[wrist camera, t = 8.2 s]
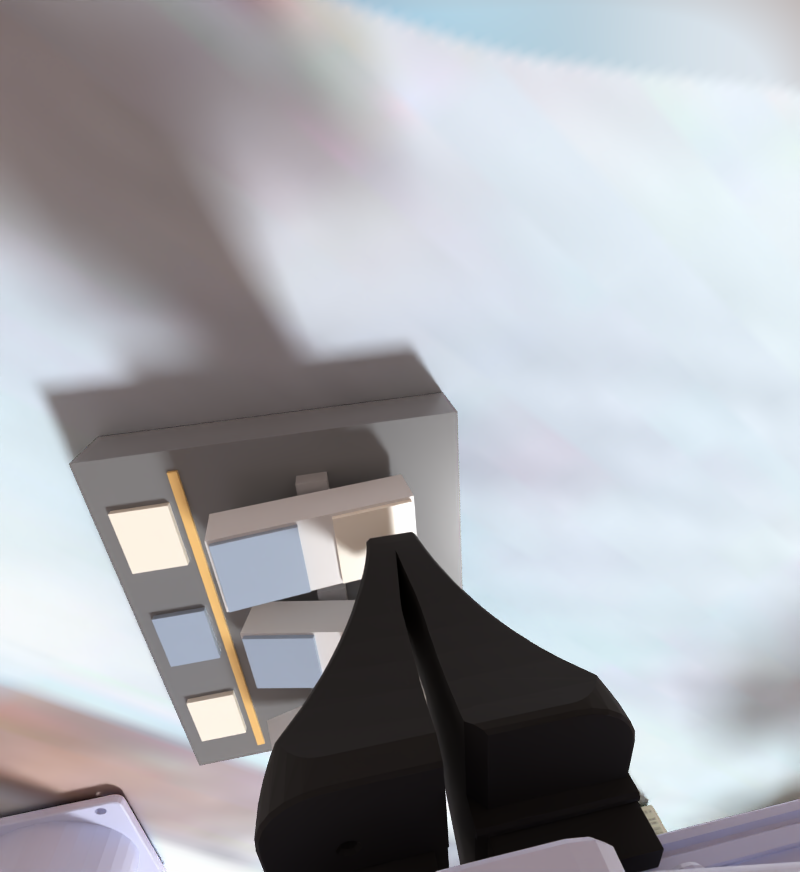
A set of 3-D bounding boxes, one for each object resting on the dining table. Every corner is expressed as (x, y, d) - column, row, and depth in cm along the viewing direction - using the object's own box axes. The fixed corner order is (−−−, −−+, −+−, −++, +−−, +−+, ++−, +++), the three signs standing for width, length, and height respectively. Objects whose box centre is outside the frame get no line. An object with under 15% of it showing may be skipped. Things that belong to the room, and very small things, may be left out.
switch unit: (209, 721, 22) (196, 780, 20) (98, 436, 16) (58, 473, 13) (454, 673, 23) (469, 722, 21) (442, 392, 17) (462, 418, 15)
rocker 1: (229, 580, 15) (226, 615, 14) (209, 514, 14) (203, 544, 12) (406, 538, 16) (420, 566, 15) (401, 474, 15) (415, 498, 14)
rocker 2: (268, 652, 18) (254, 690, 16) (254, 601, 17) (238, 637, 15) (424, 651, 17) (424, 689, 16) (420, 598, 16) (419, 634, 15)
